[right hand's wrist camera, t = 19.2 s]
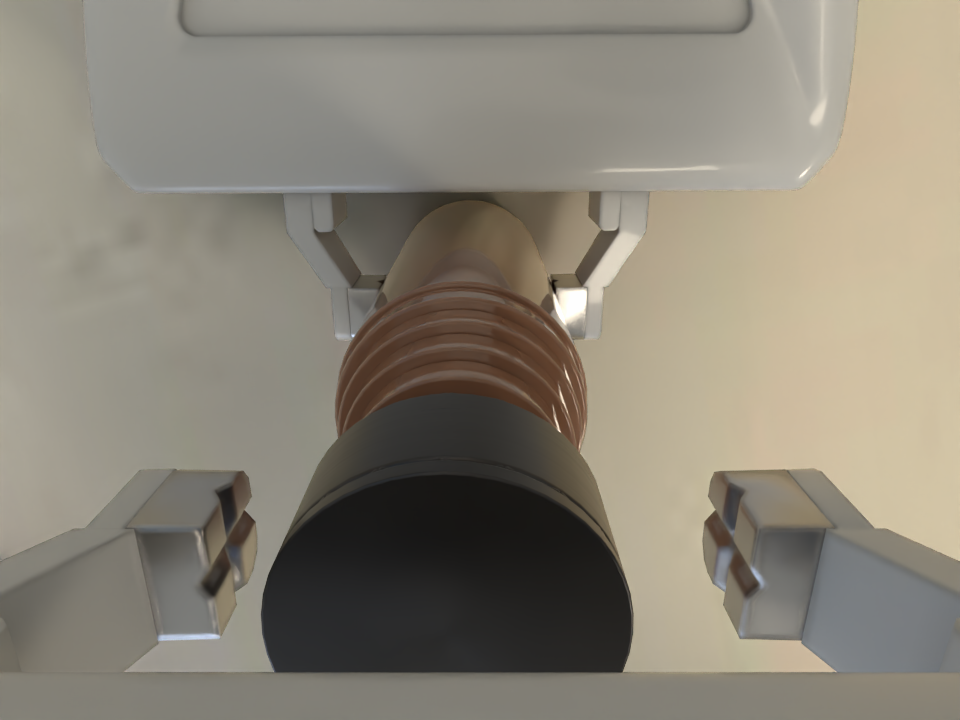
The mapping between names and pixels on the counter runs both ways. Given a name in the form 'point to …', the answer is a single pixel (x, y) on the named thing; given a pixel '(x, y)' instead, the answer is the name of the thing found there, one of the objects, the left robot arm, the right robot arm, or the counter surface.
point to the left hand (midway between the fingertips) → (469, 335)
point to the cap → (449, 550)
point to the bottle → (466, 325)
